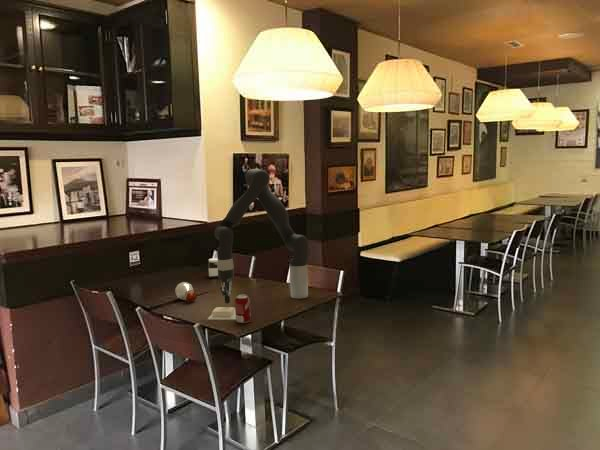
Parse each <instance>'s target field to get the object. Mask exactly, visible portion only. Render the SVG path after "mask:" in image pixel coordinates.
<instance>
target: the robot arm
mask: <svg viewBox="0 0 600 450" xmlns="http://www.w3.org/2000/svg"><path fill="white" fill-rule="evenodd" d="M244 177H245V182H246V184H247V186H248V188H247V189H246V191H245V192H244V193H243V194H242V195H241V196H240V197H239V198H238V199H237V200H236V201H235V202H234V203H233V204H232V206H231V207H230V209H229V210H228V213H227V214H226V215H225V217H224V218H223V219H222V220H221V221H220V222H219V223H218V225H217V226H216V227H215V228H214V229H215V230H214V237H215V238H216V240H218V242H219V245H218V247H217V249H216V255H217V257H216V258H218V262H217V266H218V278H217V279H220V280H221V283H220V285H221V287H220V288H219V289H220V291H221V295H222V296H224V303H225V304H230V303H231V293H232V290H233V289H232V288H233V281H232V279H233V278H234V277H235V273H234V271H235V270H234V260H233V249H232V248H233V246H234V245H233V243H234V232H233V228H234V227H235V226H236V227H237V226H238V225H239V224H240V222H241V220H242V219H243V217H244V215H245V214H246V212H247V211H248V210H249V208H250V206H251V205H252V204H253V202H254V201H255V200H256V199H258V201H259V202H260V204H261V206H262V208H263V209H264V210H265V212H266V214H267V216H268V217H269V219H270V220H271V222H272V223H273V225H274V226H275V228H276V230H277V232H278V233H279V235H280V237H281V239H282V241H283V243H284V245H285V247H286V248H287V250H289V251H291V252H294V253H293V257H292V258H290V259H289V260H288V261H289V280H290V282H289V284H290V286H289V288H290V297H291V298H292V299H299V300H300V299H305V298H308V297H309V287H308V286H309V284H308V283H309V282H308V281H309V280H308V260H309V240H308V238H307V237H306V236H305V235H303V234H296V233H295V231H294V230H293V228H292V227H291V225H290V219H289V217H290V216H289V213H288V210H287V209H286V207H285V205H284V204H283V203H282V201H281V200H280V199H279V198H278V197H277V196H276V195H275V194H274V193H273V192H272V191H271V190H270V188H268V184H269V182H270V176H269V173H268V171H266V170H263V169H257V168H252V169H249V170H248V171H246V173H245V175H244Z"/></svg>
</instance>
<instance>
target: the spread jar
mask: <svg viewBox="0 0 600 450" xmlns="http://www.w3.org/2000/svg"><path fill="white" fill-rule="evenodd" d="M217 262H218V257H213V258H209V259H208V277H209V278H210V279H219V278H218V266H217Z"/></svg>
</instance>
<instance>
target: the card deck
mask: <svg viewBox="0 0 600 450" xmlns="http://www.w3.org/2000/svg"><path fill="white" fill-rule="evenodd" d="M234 308H235V306H234V307H233V306H232V307H231V306H226V307H223V306H222V307H220V306H218V307H217V306H216V307H215V308H214V309H213V310H212V311H211V315H212V316H224V317H231V316H232V315H233V314H234V312H235V309H234Z"/></svg>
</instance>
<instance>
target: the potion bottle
mask: <svg viewBox="0 0 600 450" xmlns="http://www.w3.org/2000/svg"><path fill="white" fill-rule="evenodd" d="M174 290H175V295H176V298H178V299H180V300H183V301H187V302H188V303H190V304H192V303H194V301H196V300H197V295H196V292H195V290H194V288H193V285H192V284H191V283H189V282H186V281H182V282H180V283H178V284H177V285H176V287H175V289H174Z"/></svg>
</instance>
